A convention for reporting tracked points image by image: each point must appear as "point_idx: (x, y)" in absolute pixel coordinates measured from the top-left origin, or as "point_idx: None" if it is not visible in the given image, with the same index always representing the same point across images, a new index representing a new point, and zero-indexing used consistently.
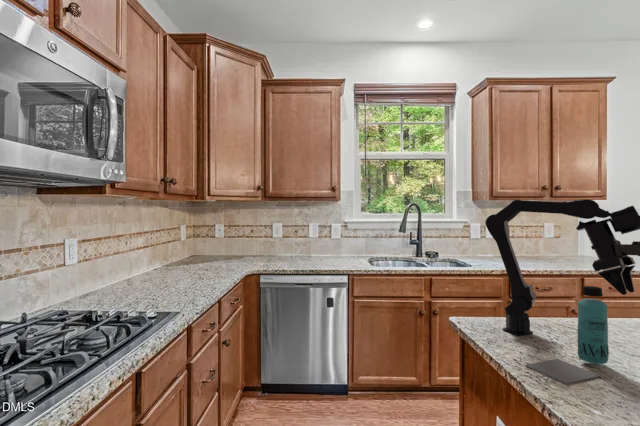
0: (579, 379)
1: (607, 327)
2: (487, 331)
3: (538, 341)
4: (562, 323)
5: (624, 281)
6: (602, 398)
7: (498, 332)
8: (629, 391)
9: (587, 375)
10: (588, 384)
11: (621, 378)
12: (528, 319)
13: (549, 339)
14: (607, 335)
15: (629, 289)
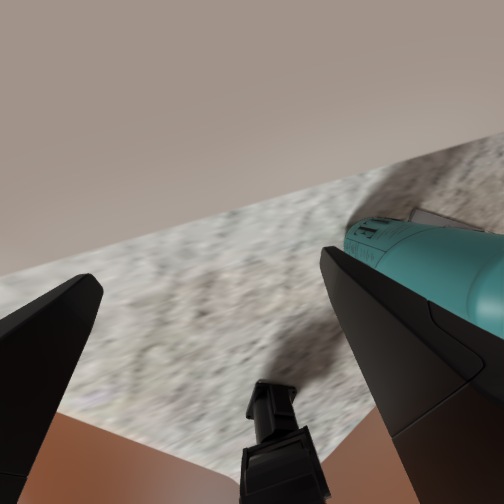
0: (456, 224)
1: (442, 227)
2: (312, 424)
3: (298, 352)
4: (118, 390)
5: (40, 376)
6: (500, 175)
7: (302, 413)
8: (447, 155)
9: (430, 223)
10: (457, 210)
11: (394, 183)
12: (276, 415)
13: (267, 348)
14: (419, 224)
15: (91, 302)
